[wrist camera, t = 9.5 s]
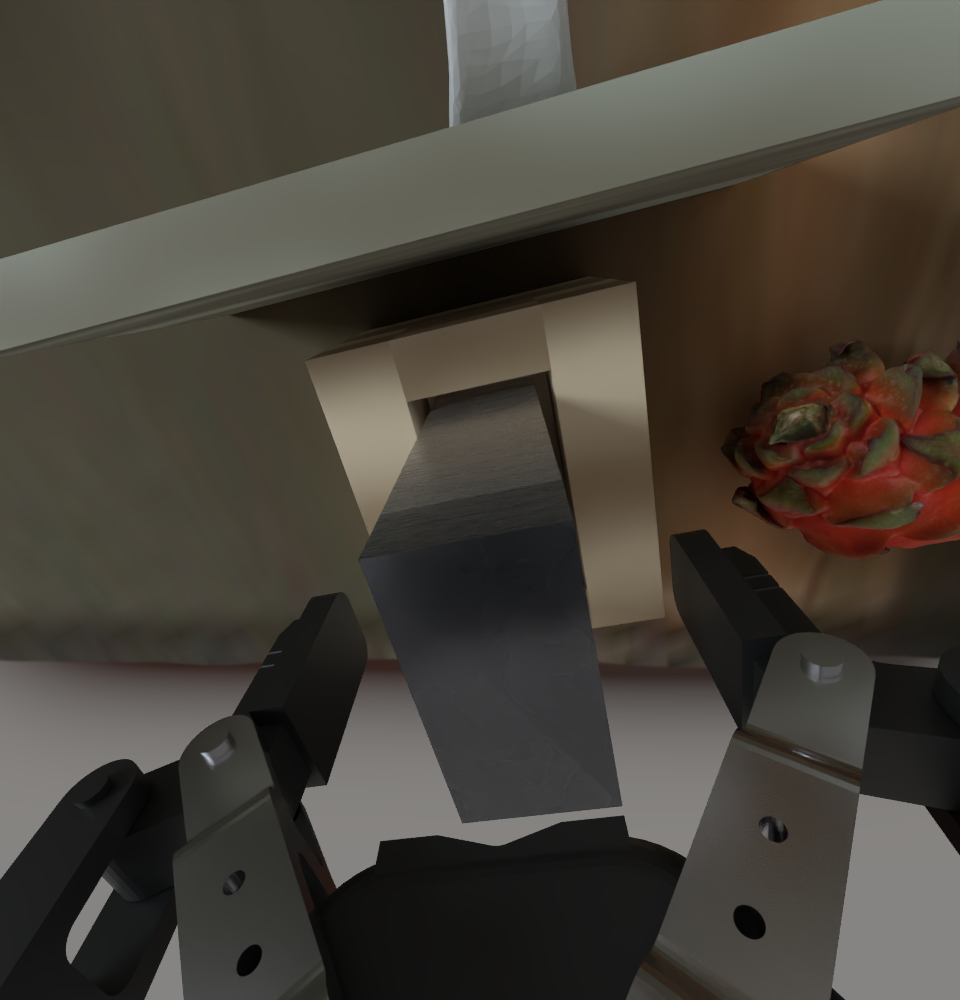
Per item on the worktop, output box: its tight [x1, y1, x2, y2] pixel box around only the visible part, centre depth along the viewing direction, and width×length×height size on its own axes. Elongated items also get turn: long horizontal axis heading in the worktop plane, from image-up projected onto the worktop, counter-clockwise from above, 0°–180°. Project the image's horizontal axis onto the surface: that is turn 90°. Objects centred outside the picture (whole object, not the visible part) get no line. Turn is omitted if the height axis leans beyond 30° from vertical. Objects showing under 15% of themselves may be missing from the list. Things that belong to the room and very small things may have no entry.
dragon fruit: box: [721, 340, 960, 560], centre depth 20 cm, size 8×8×12 cm
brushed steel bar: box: [359, 375, 622, 823], centre depth 15 cm, size 7×4×12 cm, turn 13°
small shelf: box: [0, 0, 960, 628], centre depth 17 cm, size 16×22×13 cm
